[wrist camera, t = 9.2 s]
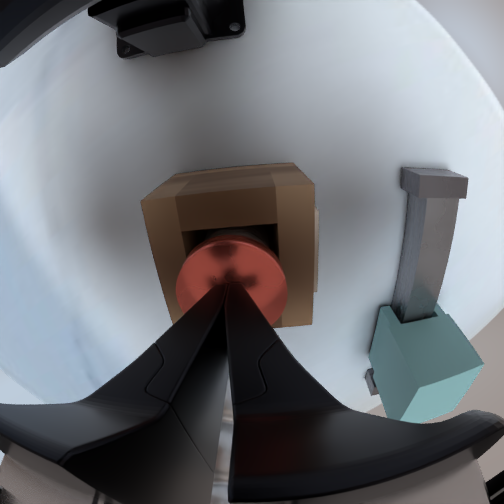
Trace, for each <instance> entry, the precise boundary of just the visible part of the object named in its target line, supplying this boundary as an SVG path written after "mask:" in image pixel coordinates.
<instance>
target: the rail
mask: <svg viewBox="0 0 504 504" xmlns="http://www.w3.org/2000/svg"><path fill="white" fill-rule="evenodd" d="M467 186H468V178H467V177H465V176H462V175H460V174H457V173H455V172H452V171H450V170H441V169H426V168H405V167H402V175H401V188H402V189H403V190H405V191H407V192H409V198H408V209H407V219H406V227H405V235H404V242H403V249H402V255H401V261H400V267H399V272H398V278H397V283H396V288H395V293H394V297H393V302H392V306H391V309H392V310H393V312H394V314H395V315H396V317H397V319H398V320H399V322H400V324H405V323H410V322H415V321H419V320H424V319H429V318H432V315H433V312H434V309H435V305H436V302H437V299H438V296H439V292H440V289H441V285H442V282H443V278H444V274H445V270H446V266H447V262H448V258H449V254H450V249H451V244H452V239H453V234H454V229H455V223H456V217H457V210H458V203H459V198H464V199H466V195H467ZM373 374H374V370H373V369H368V370H367V373H366V377H365V380H366V382H367V385H368V388H369V391H370V394H371V396H372V395H377V394H379V392H378V389H377V387H376V384H375V381H374V379H373Z"/></svg>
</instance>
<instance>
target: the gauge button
mask: <svg viewBox="0 0 504 504" xmlns="http://www.w3.org/2000/svg"><path fill="white" fill-rule="evenodd" d="M231 283H242V284H243V286H244V287H245V289H246V290H247V292H248V293H249V294H250V296H251V297H252V299H253V300H254V302H255V303H256V305H257V306H258V308H259V309H260V310H261V312H262V313H263V315H264V316H265V318H266V319H267V321H268V322H269V323H270V325H272V324H274V323H275V322H276V321H277V320H278V318H279V317H280V316H281V314H282V312H283V311H284V308H285V306H286V302H287V295H288V292H287V284H286V279H285V274H284V270H283V267H282V265H281V262H280V261H279V259H278V258H277V256H276V255H275V254H274V253H273V251H271V250H270V249H269V242H268V234H267V227H266V224H261V225H248V226H236V227H225V228H213V229H208V232H207V235H206V237H205V240H204V242H202V243H200V244H199V245H197V246H196V247H195V248H194V249H193V250H192V251H191V252H190V253H189V255H188V256H187V257H186V259H185V261H184V263H183V266H182V268H181V270H180V273H179V275H178V278H177V282H176V296H177V301H178V303H179V306H180V308H181V310H182V311H183V313H184V314H185V313H186V312H187V311H188V310H189V309H190V308H191V307H192V306H193V305H194V304H195V303H196V302H197V301H199V300H200V299H201V298H202V297H203V296H204V295H205V294H206V293H207V292H208V291H209V290H210V289H211V288H212V287H213V286H214V285H216V284H228V285H229V284H231Z"/></svg>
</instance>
